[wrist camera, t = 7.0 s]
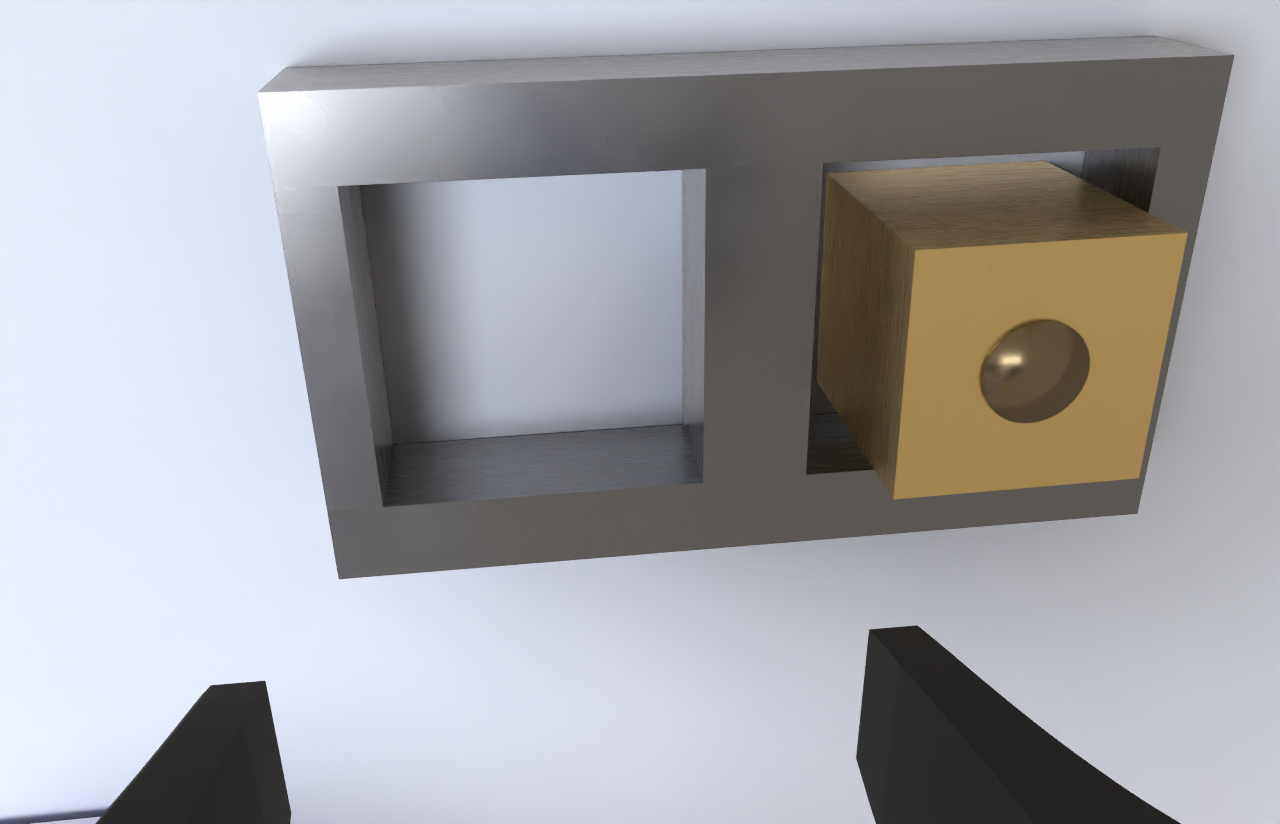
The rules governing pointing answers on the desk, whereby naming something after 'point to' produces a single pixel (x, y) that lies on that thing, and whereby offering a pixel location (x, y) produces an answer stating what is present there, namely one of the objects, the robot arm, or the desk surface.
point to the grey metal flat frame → (691, 274)
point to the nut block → (992, 325)
